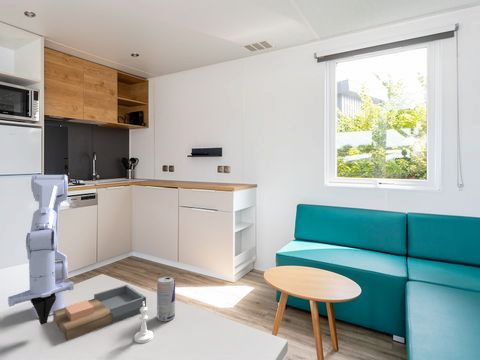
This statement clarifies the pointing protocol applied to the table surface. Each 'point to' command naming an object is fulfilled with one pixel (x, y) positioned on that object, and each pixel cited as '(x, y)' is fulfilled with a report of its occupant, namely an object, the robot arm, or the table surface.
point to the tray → (121, 302)
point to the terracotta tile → (79, 310)
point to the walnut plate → (83, 321)
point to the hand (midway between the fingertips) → (43, 322)
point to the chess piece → (143, 328)
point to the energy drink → (166, 298)
